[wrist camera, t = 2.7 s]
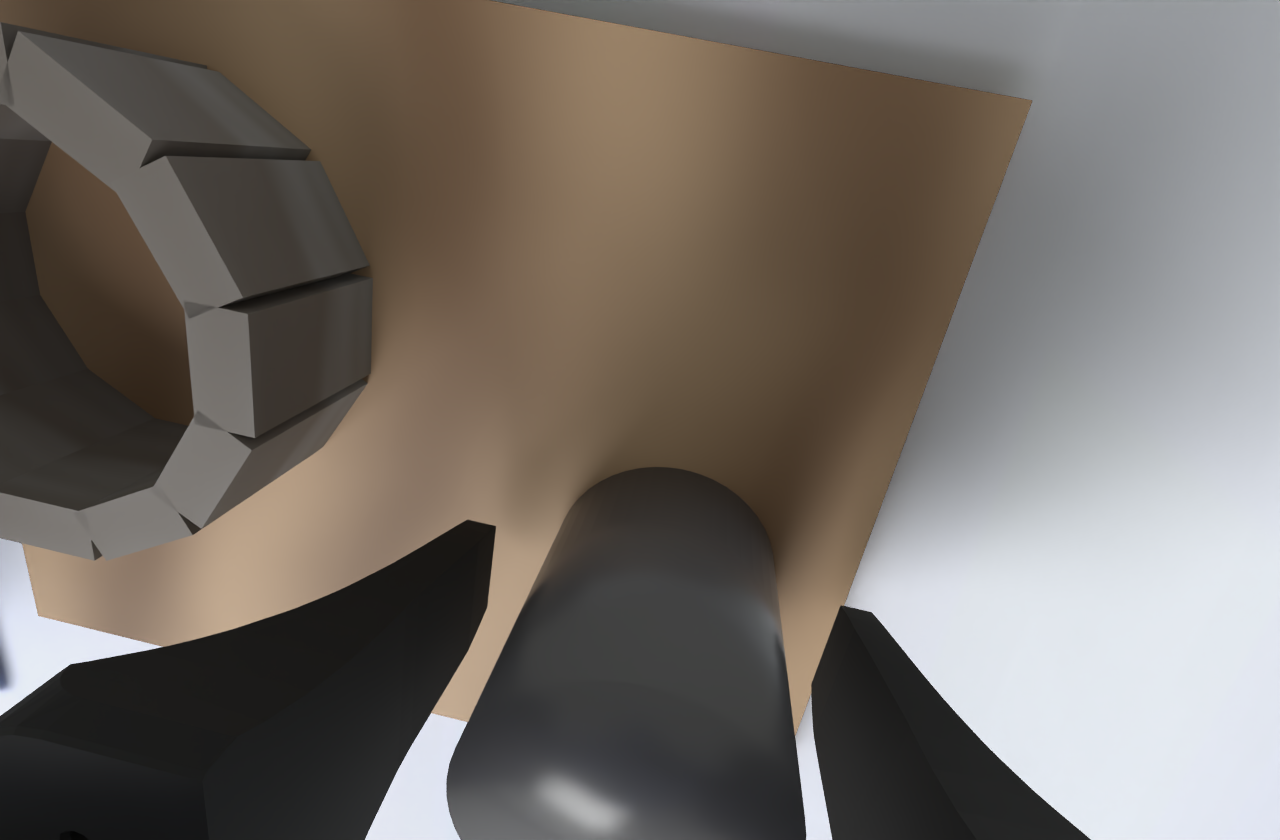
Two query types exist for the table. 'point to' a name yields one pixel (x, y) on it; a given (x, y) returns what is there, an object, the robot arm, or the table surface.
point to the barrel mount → (451, 295)
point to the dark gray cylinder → (639, 680)
